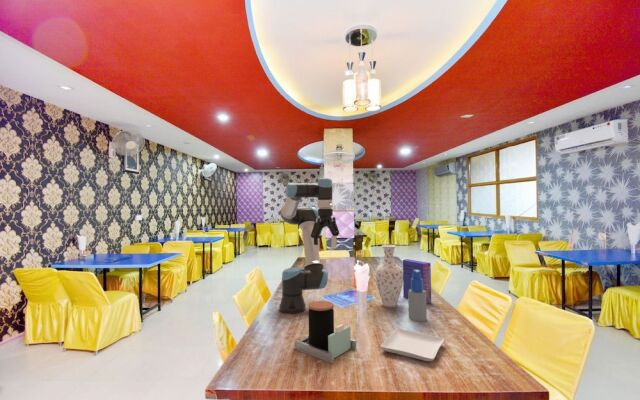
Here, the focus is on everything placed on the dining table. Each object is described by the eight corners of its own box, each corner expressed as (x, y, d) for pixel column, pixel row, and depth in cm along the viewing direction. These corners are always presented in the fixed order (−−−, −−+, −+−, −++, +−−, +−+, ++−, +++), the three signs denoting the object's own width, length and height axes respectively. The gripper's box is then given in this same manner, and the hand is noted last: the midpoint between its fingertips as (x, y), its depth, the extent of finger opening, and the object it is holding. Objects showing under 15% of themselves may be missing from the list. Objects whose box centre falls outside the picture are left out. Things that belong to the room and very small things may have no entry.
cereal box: (431, 302, 193) (430, 262, 193) (426, 304, 190) (425, 263, 190) (408, 295, 207) (407, 258, 207) (403, 297, 204) (402, 259, 205)
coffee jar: (336, 343, 138) (335, 301, 138) (332, 354, 127) (331, 309, 128) (312, 341, 140) (311, 300, 140) (306, 352, 130) (305, 307, 130)
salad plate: (433, 367, 117) (433, 358, 117) (379, 353, 128) (379, 345, 128) (445, 345, 135) (445, 337, 135) (396, 335, 146) (396, 327, 146)
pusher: (328, 359, 123) (328, 330, 123) (348, 347, 133) (347, 320, 133) (330, 360, 122) (330, 331, 122) (350, 348, 132) (350, 321, 132)
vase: (373, 307, 184) (372, 247, 185) (378, 300, 199) (378, 243, 200) (401, 311, 178) (400, 248, 178) (405, 302, 193) (404, 244, 193)
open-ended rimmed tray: (294, 348, 133) (294, 340, 133) (319, 336, 145) (319, 328, 145) (332, 363, 120) (332, 354, 120) (356, 349, 132) (356, 340, 132)
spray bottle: (409, 315, 171) (408, 268, 172) (426, 316, 169) (425, 269, 169) (408, 320, 163) (407, 271, 163) (426, 322, 160) (425, 272, 160)
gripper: (314, 208, 152) (315, 253, 152) (345, 207, 171) (346, 247, 170) (303, 208, 157) (303, 252, 156) (334, 208, 176) (335, 246, 175)
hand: (325, 249), depth 163 cm, fingers open, 13 cm apart
